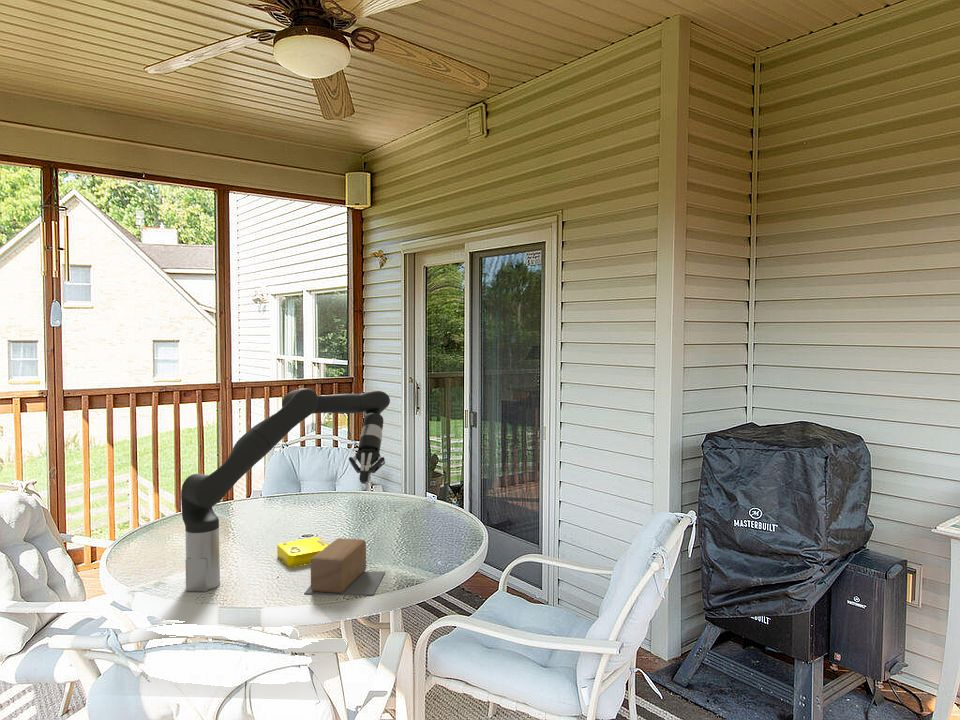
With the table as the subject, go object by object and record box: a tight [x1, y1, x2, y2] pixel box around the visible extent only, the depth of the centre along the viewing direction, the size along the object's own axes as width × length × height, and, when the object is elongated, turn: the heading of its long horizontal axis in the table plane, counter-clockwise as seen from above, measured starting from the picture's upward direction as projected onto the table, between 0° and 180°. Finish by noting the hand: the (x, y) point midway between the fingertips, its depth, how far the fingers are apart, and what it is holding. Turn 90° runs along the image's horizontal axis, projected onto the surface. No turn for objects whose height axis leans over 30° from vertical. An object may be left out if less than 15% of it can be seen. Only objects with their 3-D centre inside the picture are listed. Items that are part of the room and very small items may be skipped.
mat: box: [303, 571, 386, 596], centre depth 198 cm, size 18×20×1 cm
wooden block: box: [310, 537, 367, 593], centre depth 199 cm, size 10×10×20 cm
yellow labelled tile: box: [276, 536, 329, 568], centre depth 221 cm, size 15×15×5 cm
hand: (363, 482), depth 221 cm, fingers closed
